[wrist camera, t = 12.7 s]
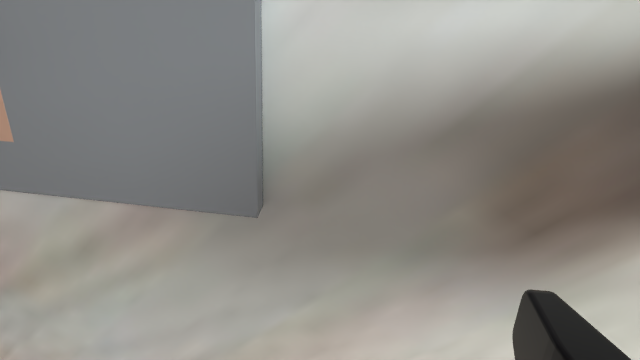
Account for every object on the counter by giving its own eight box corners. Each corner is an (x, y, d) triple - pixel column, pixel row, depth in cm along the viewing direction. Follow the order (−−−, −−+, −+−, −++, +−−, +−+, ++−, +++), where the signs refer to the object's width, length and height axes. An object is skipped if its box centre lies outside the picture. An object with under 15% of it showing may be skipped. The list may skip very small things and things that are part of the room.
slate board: (260, -98, 18) (253, -98, 17) (262, 205, 24) (257, 218, 23) (-223, -126, 19) (-254, -126, 18) (-109, 165, 25) (-128, 176, 24)
